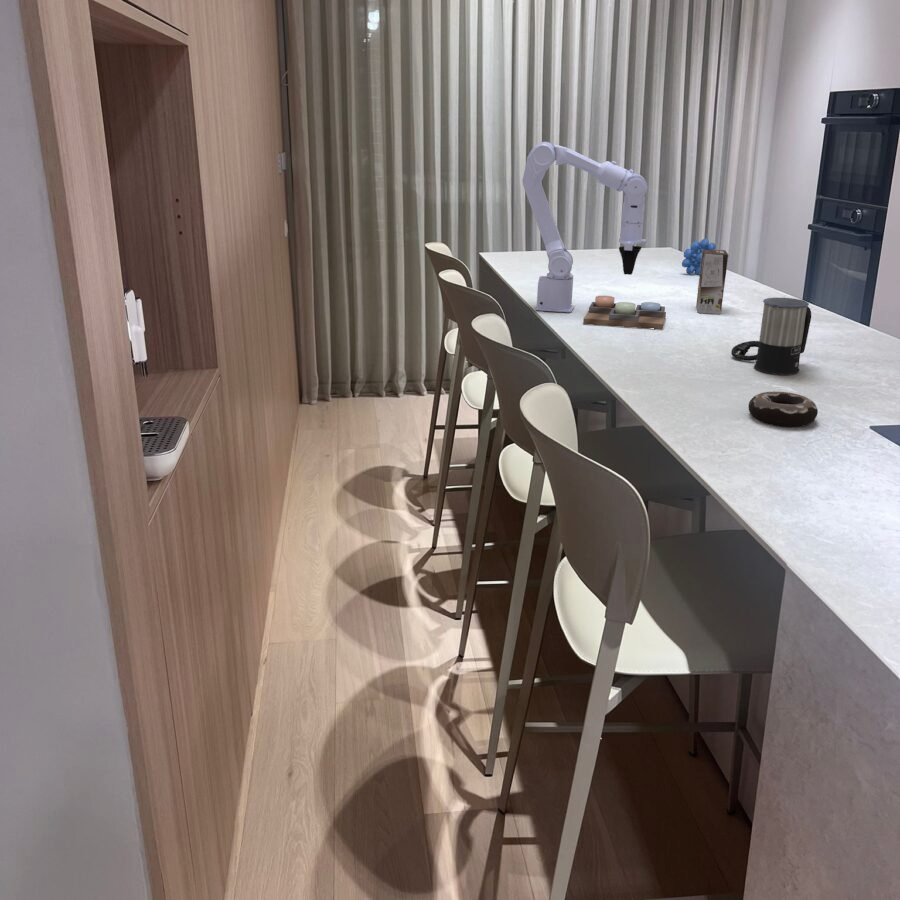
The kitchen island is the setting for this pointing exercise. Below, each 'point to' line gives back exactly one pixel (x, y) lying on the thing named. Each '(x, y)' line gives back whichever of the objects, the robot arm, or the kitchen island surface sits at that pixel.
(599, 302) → the button terracotta
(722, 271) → the coffee box
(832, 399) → the kitchen island surface
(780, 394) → the donut
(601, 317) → the panel
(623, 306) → the button sage
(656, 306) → the button slate
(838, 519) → the kitchen island surface
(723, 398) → the kitchen island surface
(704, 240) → the grapes
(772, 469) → the kitchen island surface
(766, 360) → the milk frother
